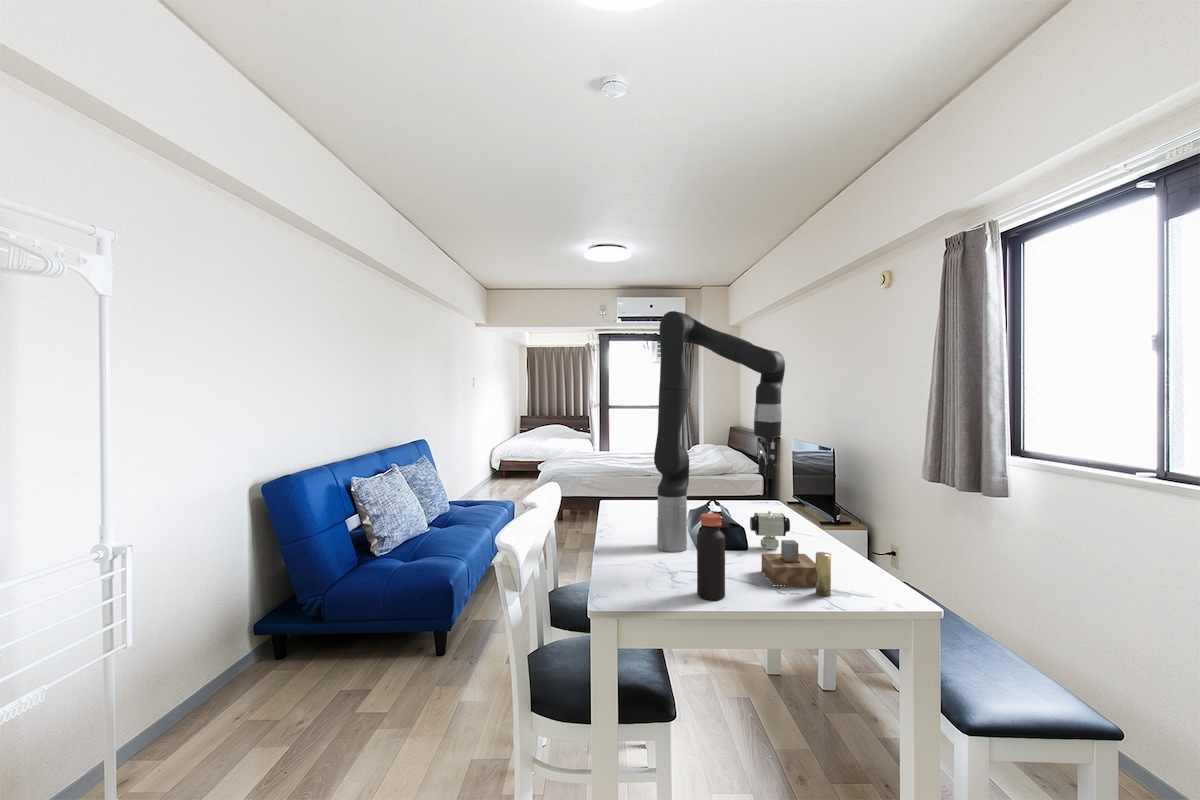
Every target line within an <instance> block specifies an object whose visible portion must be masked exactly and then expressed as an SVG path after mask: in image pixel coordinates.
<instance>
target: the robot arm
mask: <svg viewBox="0 0 1200 800" xmlns="http://www.w3.org/2000/svg"><path fill="white" fill-rule="evenodd" d="M659 323H660V324H659V344H660V346H659V347H660V368H659V369H660V371H659V372H660V373H659V387H658V390H659V391H658V412H657V413H658V415H657V417H658V418H657V433H656V434H657V435H656V442H655V449H654V455H653V461H654V467H655V468H656V470H657V471H658V472H659V474H661V480H660V482H659V484H658V486H657V517H656V524H657V525H656V526H657V527H656V531H657V532H656V538H657V541H656V542H657V543H656V545H657V550H658V551H664V552H667V553H668V552H670V553H676V552H683V551H686V550H687V548H688V547H687V546H688V541H687V540H688V537H687V535H688V533H687V531H688V528H687V527H688V524H687V523H688V519H687V518H688V517H687V516H688V512H687V509H688V506H687V505H688V504H687V503H688V502H687V498H688V496H687V495H688V494H687V493H688V492H687V491H688V487H689V482H690V456H689V452H688V450H687V449H686V448H685V447H684V446H683V445H682V444H680V434H681V427H682V424H683V422H684V418H685V415H686V412H687V409H688V404H689V389H690V388H689V379H688V375H687V371H686V368H685V364H684V359H683V358H684V357H683V349H684V348H683V347H684V346H683V345H684V343H686V344H687V343H688V344H692V345H697V346H700V347H702V348H703V347H704V348H706V349H707V350H709V351H711V352H712V353H715V354H716V355H718V356H720V357H722V358H725V359H727V360H729V361H732V362H734V363H736V364H740V365H743V366H744V367H746V368H747V369H750V370H752V371H755V372H756V373H758V374H760V380H759V384H758V385H757V386H756V389H755V406H754V412H753V413H754V414H753V415H754V417H753V435H754V436H755V437H757V439H756V440H757V441H756V442H757V445H756V446H757V447H756V457H757V459H758V474H764V477H765V478H766V479H774V477H775V476H774V473H775V465H777V463H778V442H777V441H775V439H774V438H779V437H781V435H782V406H781V405H782V387H783V382H784V376H785V372H786V362H785V361H786V360H785V357H784V356H783V354H782V353H780V352H779V351H777V350H773V349H772V350H770V349H767V348H764V347H762V346H758V345H755V344H753V343H752V342H750V341H748V340H746V339H743V338H740V337H739V336H735V335H733V334H730V333H726V332H723V331H719V330H716V329H714V328H711V327H709V326H707V325H705V324H703V323H701V322H700V321H699V320H696V319H695V318H693V317H692V316H690V315H689V314H687V313H684V312H679V311H674V310H672V311H667V312H666V313H665V314H664V315H663V316H662V318H661V320H660V322H659Z"/></svg>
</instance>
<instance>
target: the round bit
mask: <svg viewBox="0 0 1200 800" xmlns="http://www.w3.org/2000/svg"><path fill="white" fill-rule="evenodd" d="M815 563H816V587H815V595H817V596H819V597H823V598H824V597H826V598H827V597H831V594H832V590H831V588H832V586H831V585H832V581H831V580H832V578H831V577H832V576H831V575H832V574H831V573H832V572H831V571H832V564H831V563H832V554H831V553H830V552H827V551H826V552H825V551H817V552H815Z"/></svg>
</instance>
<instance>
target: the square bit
mask: <svg viewBox="0 0 1200 800" xmlns="http://www.w3.org/2000/svg"><path fill="white" fill-rule="evenodd" d="M780 541H781V545H780V547H781V548H780V552H781V553H780V554H781V561H782V562H783V563H798V554H799V542H797V541H796V540H794V539H781V540H780Z"/></svg>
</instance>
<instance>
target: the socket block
mask: <svg viewBox="0 0 1200 800" xmlns="http://www.w3.org/2000/svg"><path fill="white" fill-rule="evenodd" d="M761 573H762V574H763V573H764V574H765V575H766V576H765V575H764V574H763V575H764V576H765V578H766V577H767V578H768V579H769V580H768V579H767V578H766V579H767V580H768V582H769V581H770V582H771V583H772V584H771V583H770V582H769V583H770V584H771V586H772V585H779V586H778V587H780V585H782V586H784V585H785V586H816V561H814V560H812V559H811V558H810V557H809V555H807V554H806V553H798V563H783V562H782V561H781V553H761Z"/></svg>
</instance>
